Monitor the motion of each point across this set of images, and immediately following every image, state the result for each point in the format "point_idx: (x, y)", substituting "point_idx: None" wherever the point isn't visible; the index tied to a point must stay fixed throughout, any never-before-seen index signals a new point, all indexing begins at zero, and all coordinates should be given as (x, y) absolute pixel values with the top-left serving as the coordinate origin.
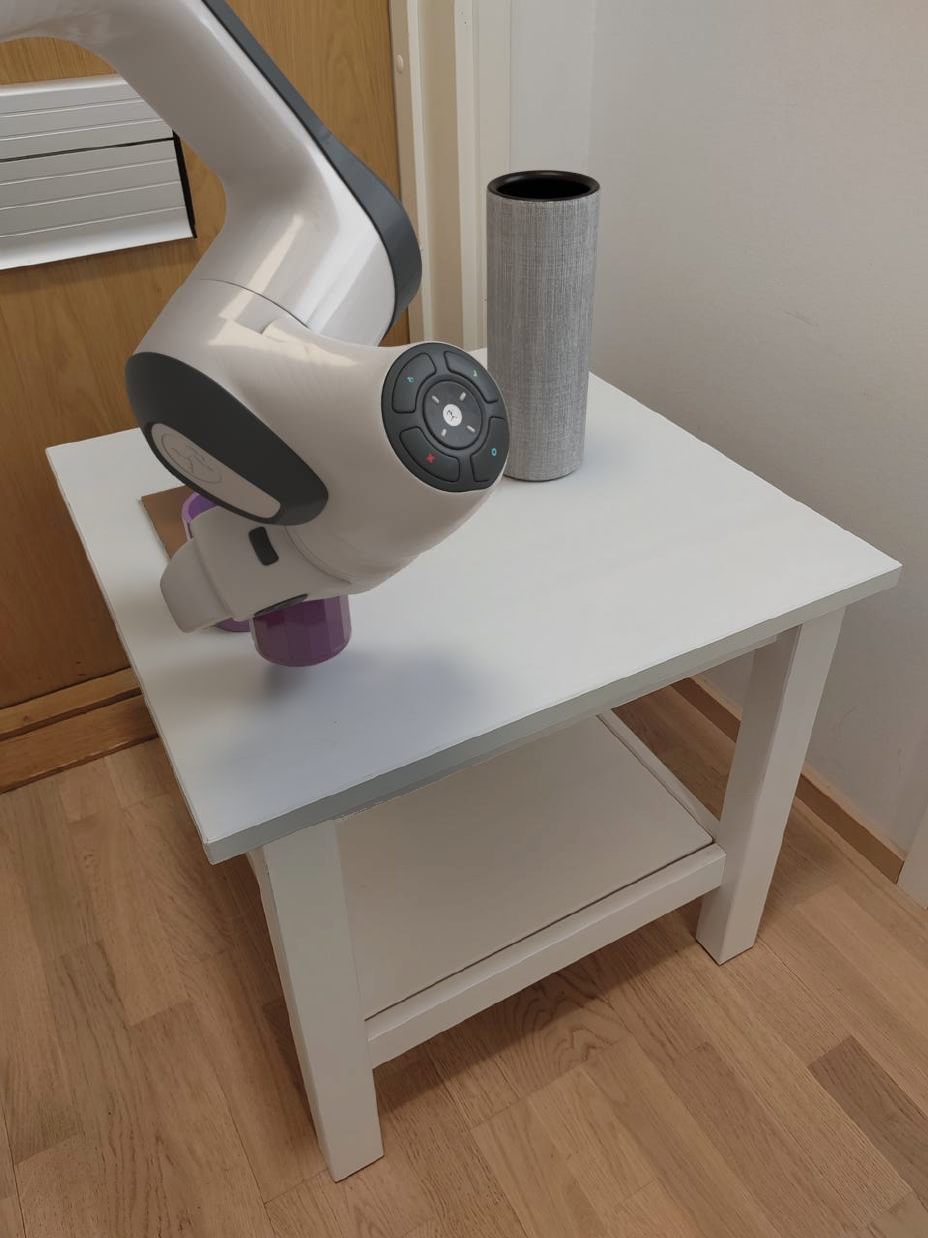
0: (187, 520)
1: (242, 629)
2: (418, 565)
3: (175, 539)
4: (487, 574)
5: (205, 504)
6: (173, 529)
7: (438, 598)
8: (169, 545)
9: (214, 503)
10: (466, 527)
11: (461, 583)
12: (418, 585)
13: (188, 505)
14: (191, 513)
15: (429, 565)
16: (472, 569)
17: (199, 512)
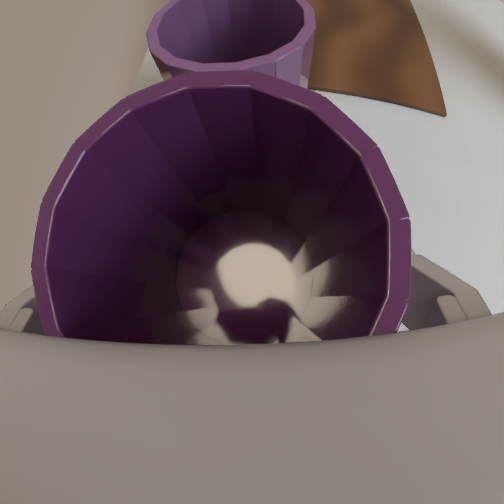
0: (150, 29)
1: None
2: (448, 178)
3: None
4: (496, 241)
5: (214, 2)
6: None
7: (445, 246)
8: None
9: (230, 2)
10: (501, 157)
11: (473, 238)
12: (436, 210)
13: (175, 3)
14: (181, 12)
15: (457, 186)
16: (488, 223)
17: (201, 11)
